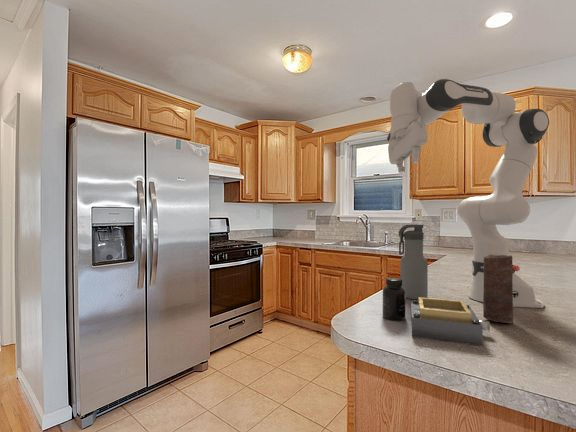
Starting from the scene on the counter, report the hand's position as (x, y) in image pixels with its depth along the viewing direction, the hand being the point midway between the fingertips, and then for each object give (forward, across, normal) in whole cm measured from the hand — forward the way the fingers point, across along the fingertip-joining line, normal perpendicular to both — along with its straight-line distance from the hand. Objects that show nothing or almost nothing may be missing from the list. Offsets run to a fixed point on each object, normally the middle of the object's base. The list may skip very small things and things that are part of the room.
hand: (408, 167), depth 102 cm
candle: (+49, -2, -23) cm, 54 cm away
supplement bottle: (+48, +4, +6) cm, 48 cm away
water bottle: (+43, +26, -12) cm, 52 cm away
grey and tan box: (+50, -7, -4) cm, 51 cm away
